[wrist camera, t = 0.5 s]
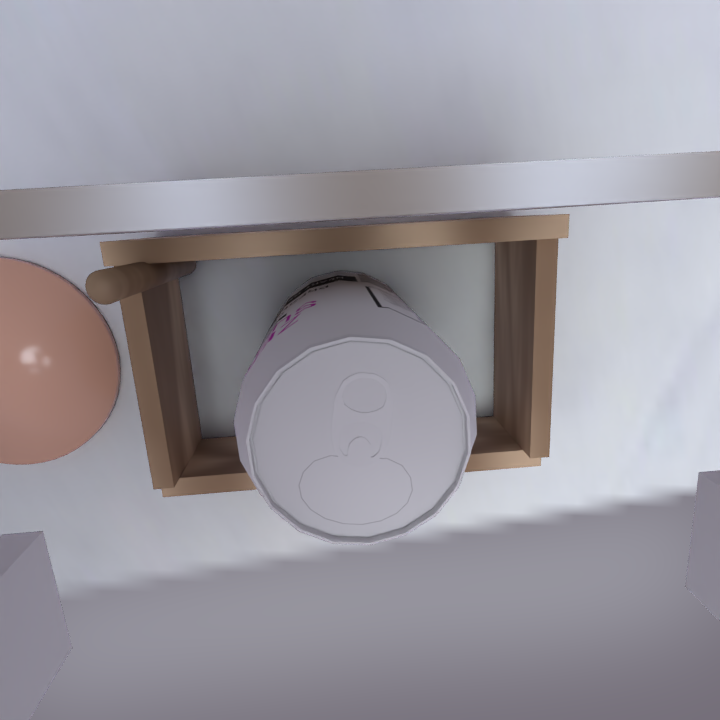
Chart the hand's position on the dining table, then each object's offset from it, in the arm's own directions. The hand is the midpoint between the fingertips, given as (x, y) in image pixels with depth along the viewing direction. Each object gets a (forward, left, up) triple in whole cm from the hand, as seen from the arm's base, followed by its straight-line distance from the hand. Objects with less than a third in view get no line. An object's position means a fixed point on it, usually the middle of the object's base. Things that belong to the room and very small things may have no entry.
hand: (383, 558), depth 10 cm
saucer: (-19, 0, -21) cm, 28 cm away
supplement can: (0, 0, -21) cm, 21 cm away
